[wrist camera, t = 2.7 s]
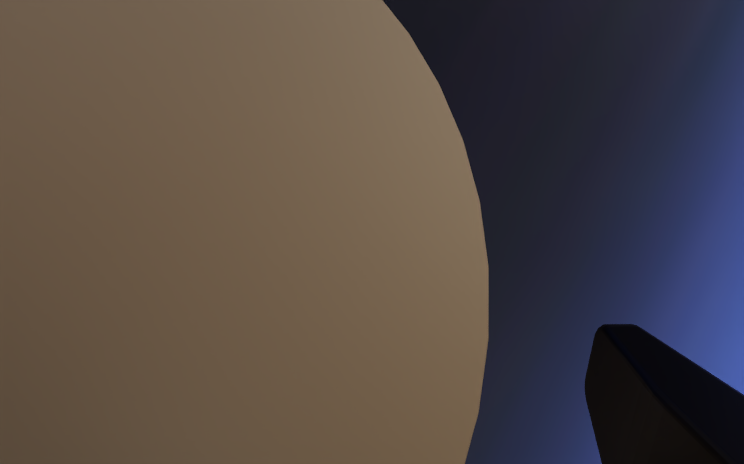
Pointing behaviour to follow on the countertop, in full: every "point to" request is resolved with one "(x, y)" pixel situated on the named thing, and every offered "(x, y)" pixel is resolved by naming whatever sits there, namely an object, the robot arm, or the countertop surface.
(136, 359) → the dowel
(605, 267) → the countertop surface
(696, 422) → the robot arm
